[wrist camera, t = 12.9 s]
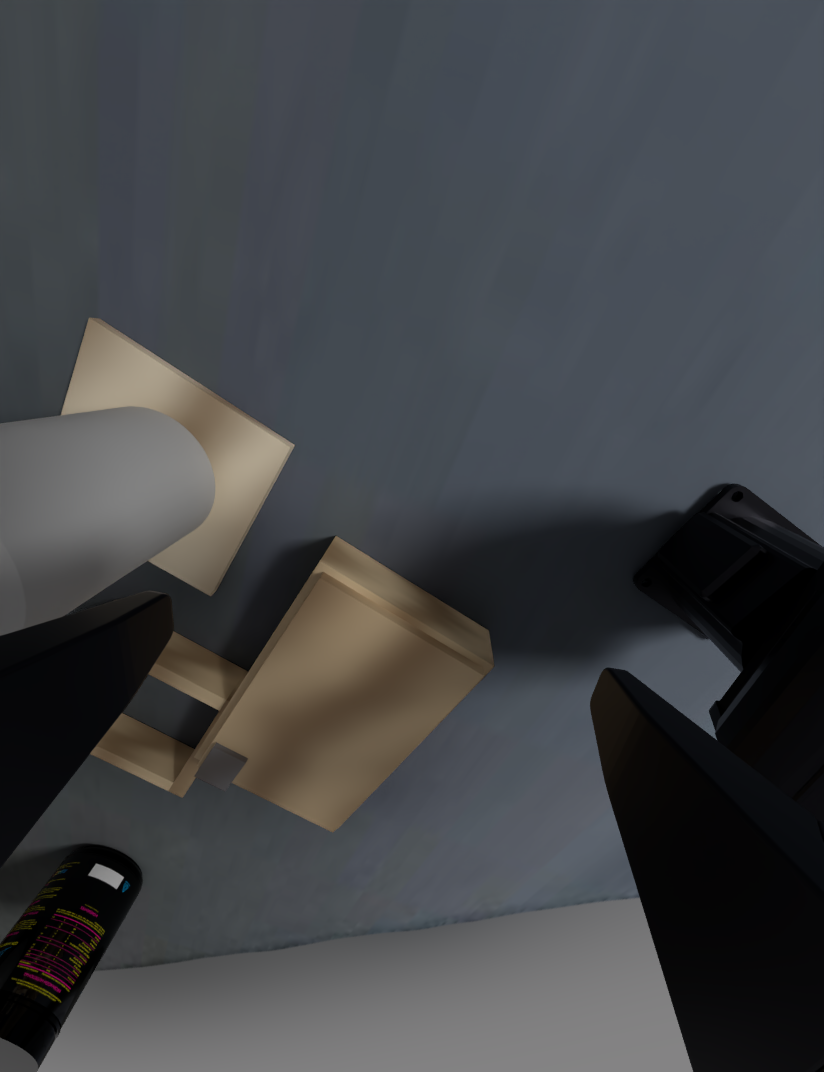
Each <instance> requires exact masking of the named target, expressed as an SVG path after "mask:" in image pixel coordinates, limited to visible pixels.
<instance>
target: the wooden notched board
mask: <svg viewBox="0 0 824 1072" xmlns="http://www.w3.org/2000/svg"><path fill="white" fill-rule="evenodd" d="M114 601H115V600H114ZM493 667H494V660H493V654H492V647H491V641H490V635H489V630H487V629H485V628H484V627H482V626H481V625H479V624H477V623H476V622H474V621H472V620H471V619H469V618H468V617H466V616H464V615H463V614H461V613H460V612H458V611H456V610H455V609H453V608H452V607H450V606H448V605H447V604H445V603H443V602H442V601H440V600H439V599H437V598H435V597H434V596H432V595H431V594H429V593H427V592H426V591H424V590H422V589H421V588H419V587H418V586H416V585H414V584H413V583H411V582H410V581H408V580H406V579H405V578H403V577H401V576H400V575H398V574H397V573H395V572H393V571H392V570H390V569H389V568H387V567H385V566H384V565H382V564H381V563H379V562H377V561H376V560H374V559H372V558H371V557H369V556H368V555H366V554H364V553H363V552H361V551H360V550H358V549H356V548H355V547H353V546H351V545H350V544H348V543H347V542H345V541H343V540H342V539H340V538H339V537H337V536H335V538H334V540H333V541H332V543H331V544H330V546H329V547H328V549H327V550H326V552H325V554H324V555H323V557H322V558H321V560H320V561H319V563H318V564H317V566H316V568H315V569H314V571H313V572H312V574H311V575H310V577H309V578H308V580H307V582H306V583H305V585H304V586H303V588H302V589H301V591H300V592H299V594H298V596H297V597H296V599H295V600H294V602H293V603H292V605H291V606H290V608H289V610H288V611H287V613H286V614H285V616H284V617H283V619H282V620H281V622H280V624H279V625H278V627H277V628H276V630H275V631H274V633H273V634H272V636H271V638H270V639H269V641H268V642H267V644H266V645H265V647H264V648H263V650H262V652H261V653H260V655H259V656H258V658H257V659H256V661H255V662H254V664H253V666H252V667H251V669H250V670H249V672H248V671H246V670H244V669H242V668H241V667H239V666H237V665H235V664H233V663H231V662H229V661H228V660H226V659H224V658H222V657H220V656H218V655H217V654H215V653H213V652H211V651H209V650H207V649H205V648H204V647H202V646H200V645H198V644H196V643H194V642H193V641H191V640H189V639H187V638H185V637H183V636H181V635H180V634H178V633H176V632H174V631H173V634H172V637H171V639H170V640H169V642H168V644H167V645H166V647H165V648H164V650H163V652H162V653H161V655H160V656H159V658H158V659H157V661H156V663H155V664H154V666H153V667H152V669H151V670H150V672H149V675H151V676H153V677H155V678H157V679H159V680H161V681H163V682H165V683H167V684H169V685H171V686H172V687H174V688H176V689H178V690H180V691H182V692H184V693H186V694H188V695H190V696H192V697H194V698H196V699H197V700H199V701H201V702H203V703H205V704H207V705H209V706H211V707H213V708H215V709H217V710H219V712H218V714H217V715H216V717H215V719H214V720H213V722H212V723H211V725H210V726H209V728H208V730H207V731H206V733H205V734H204V736H203V737H202V739H201V740H200V742H199V744H198V745H197V747H196V748H195V749H193V748H191V747H189V746H187V745H185V744H183V743H181V742H179V741H177V740H175V739H173V738H171V737H169V736H167V735H165V734H163V733H161V732H159V731H157V730H155V729H153V728H151V727H149V726H147V725H145V724H143V723H141V722H139V721H137V720H135V719H133V718H131V717H129V716H127V715H125V714H123V713H121V715H120V716H119V717H118V719H117V720H116V721H115V722H114V724H113V725H112V726H111V728H110V729H109V730H108V731H107V733H106V734H105V735H104V736H103V738H102V739H101V740H100V742H99V743H98V744H97V745H96V747H95V748H94V749H93V751H92V752H91V753H90V754H92V755H94V756H96V757H98V758H100V759H102V760H104V761H106V762H108V763H110V764H113V765H115V766H117V767H119V768H121V769H123V770H125V771H127V772H129V773H131V774H133V775H136V776H138V777H140V778H142V779H144V780H146V781H148V782H150V783H152V784H154V785H157V786H159V787H161V788H163V789H165V790H167V791H169V792H171V793H173V794H175V795H178V796H180V797H182V798H183V796H184V795H185V793H186V792H187V790H188V789H189V787H190V786H191V784H192V783H193V781H194V780H195V778H198V779H200V780H202V781H204V782H206V783H208V784H210V785H213V786H215V787H217V788H219V789H221V790H223V791H226V790H227V788H228V787H229V785H230V784H231V783H233V784H235V785H237V786H239V787H241V788H243V789H246V790H248V791H250V792H252V793H254V794H256V795H258V796H260V797H262V798H264V799H266V800H268V801H270V802H272V803H274V804H276V805H278V806H280V807H282V808H284V809H286V810H288V811H290V812H292V813H294V814H296V815H298V816H300V817H302V818H304V819H306V820H308V821H311V822H313V823H315V824H317V825H319V826H321V827H323V828H325V829H327V830H329V831H331V832H334V831H335V830H336V829H337V828H339V827H340V826H341V825H342V824H343V823H344V822H345V821H346V820H347V819H348V817H349V816H350V815H351V814H352V813H353V812H354V811H355V810H356V809H357V808H358V807H359V806H360V805H361V804H362V803H363V802H364V801H365V800H366V799H367V798H368V797H369V796H370V795H371V794H372V793H373V792H374V791H375V790H376V789H377V787H378V786H379V785H380V784H381V783H382V782H383V781H384V780H385V779H386V778H387V777H388V776H389V775H390V774H391V773H392V772H393V771H394V770H395V769H396V768H397V767H398V766H399V765H400V764H401V763H402V762H403V761H404V760H405V758H406V757H407V756H408V755H409V754H410V753H411V752H412V751H413V750H414V749H415V748H416V747H417V746H418V745H419V744H420V743H421V742H422V741H423V740H424V739H425V738H426V737H427V736H428V735H429V734H430V733H431V732H432V731H433V730H434V728H435V727H436V726H437V725H438V724H439V723H440V722H441V721H442V720H443V719H444V718H445V717H446V716H447V715H448V714H449V713H450V712H451V711H452V710H453V709H454V708H455V707H456V706H457V705H458V704H459V703H460V702H461V701H462V699H463V698H464V697H465V696H466V695H467V694H468V693H469V692H470V691H471V690H472V689H473V688H474V687H475V686H476V685H477V684H478V683H479V682H480V681H481V680H482V679H483V678H484V677H485V676H486V675H487V674H488V673H489V672H490V671H491V669H492V668H493Z"/></svg>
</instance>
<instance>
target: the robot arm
mask: <svg viewBox="0 0 824 1072" xmlns="http://www.w3.org/2000/svg"><path fill="white" fill-rule="evenodd" d="M737 491H738V495H737V496H736V497H735V498H734V499H731V496H732V495H733V493H735V492H737ZM646 578H648V581H647V582H646V583H641V582H642V581H643V580H644V579H646ZM633 582H634V584H635V586H636V587H637V588H638V589H639V590H640V591H642V592H643V593H645V594H646V595H648V596H649V597H650V598H652V599H653V600H655V601H656V602H658V603H659V604H661V605H662V606H664V607H665V608H667V609H668V610H669V611H671V612H672V613H674V614H675V615H677V616H678V617H680V618H681V619H683V620H684V621H685V622H687V623H688V624H690V625H691V626H693V627H694V628H696V629H697V630H699V631H700V632H702V633H703V634H704V635H706V636H707V637H708V638H709V639H710V640H711V641H712V642H713V643H714V644H715V645H716V646H717V647H718V648H719V649H720V651H721V652H722V653H723V654H724V655H725V656H726V657H727V658H728V659H729V660H730V661H731V662H732V663H733V664H734V665H735V666H736V668H737V669H738V670H739V671H740V672H741V673H740V675H739V676H738V677H737V679H736V680H735V681H734V683H733V684H732V685H731V687H730V688H729V689H728V691H727V692H726V693H725V695H724V696H723V697H722V699H721V700H720V701H715V703H714V704H713V706H712V707H711V708H710V710H709V713H710V716H711V719H712V722H713V725H714V728H715V731H716V732H715V735H716V738H717V740H716V739H714V738H713V737H712V736H711V735H709V734H708V733H707V732H705V731H704V730H703V729H702V728H700V727H699V726H698V725H696V724H695V723H694V722H692V721H691V720H690V719H689V718H687V717H686V716H685V715H683V714H682V713H681V712H680V711H678V710H677V709H676V708H674V707H673V706H672V705H670V704H669V703H668V702H667V701H665V700H664V699H663V698H661V697H660V696H659V695H658V694H656V693H655V692H654V691H652V690H651V689H650V688H648V687H647V686H646V685H645V684H643V683H642V682H641V681H639V680H638V679H637V678H636V677H634V676H633V675H632V674H630V673H629V672H628V671H625V670H620V669H614V668H605V669H604V670H603V671H602V673H601V675H600V677H599V680H598V682H597V685H596V687H595V690H594V692H593V694H592V697H591V701H590V709H591V715H592V720H593V725H594V730H595V735H596V740H597V745H598V751H599V756H600V761H601V766H602V771H603V775H604V780H605V784H606V788H607V791H608V795H609V798H610V801H611V805H612V808H613V811H614V815H615V818H616V821H617V824H618V828H619V831H620V834H621V837H622V841H623V844H624V847H625V850H626V854H627V857H628V860H629V864H630V867H631V870H632V873H633V877H634V880H635V883H636V886H637V890H638V893H639V896H640V899H641V902H642V906H643V909H644V913H645V916H646V919H647V922H648V926H649V928H650V932H651V935H652V939H653V942H654V945H655V948H656V952H657V955H658V958H659V961H660V965H661V968H662V971H663V975H664V978H665V981H666V984H667V987H668V991H669V994H670V997H671V1001H672V1004H673V1007H674V1010H675V1014H676V1017H677V1020H678V1024H679V1027H680V1030H681V1033H682V1037H683V1040H684V1043H685V1046H686V1050H687V1053H688V1056H689V1059H690V1063H691V1066H692V1069H693V1072H824V547H822V546H821V545H819V544H818V543H817V542H816V541H814V540H813V539H812V538H810V537H809V536H808V535H807V534H805V533H804V532H803V531H801V530H800V529H799V528H797V527H796V526H795V525H794V524H792V523H791V522H790V521H788V520H787V519H786V518H785V517H783V516H782V515H781V514H779V513H778V512H777V511H776V510H774V509H773V508H772V507H770V506H769V505H768V504H767V503H765V502H764V501H763V500H761V499H760V498H759V497H758V496H756V495H755V494H754V493H752V492H751V491H750V490H749V489H747V488H746V487H743V486H741V485H739V484H730V485H728V486H726V487H725V488H724V489H723V490H722V491H721V492H720V493H719V494H718V495H717V496H716V497H715V498H713V499H712V500H711V501H710V502H709V503H708V504H707V505H706V506H705V507H704V508H703V509H702V510H701V511H700V512H699V513H697V514H696V515H695V516H693V517H692V518H691V519H690V520H689V521H688V522H687V523H686V524H685V525H684V526H683V527H682V528H681V529H680V530H679V531H678V532H677V533H676V534H675V535H674V536H673V537H672V538H671V539H670V540H669V541H668V542H667V543H666V544H665V545H664V546H663V547H662V548H661V549H660V550H659V551H658V553H657V554H656V555H655V556H654V557H653V558H652V559H651V560H650V561H649V562H648V563H647V564H646V565H645V566H644V567H643V568H642V569H640V570H639V571H638V572H637V573H636V575H635V576H634V578H633ZM173 630H174V622H173V612H172V601H171V598H170V596H169V595H168V594H166V593H161V592H155V591H144V592H141V593H138V594H135V595H131V596H128V597H125V598H122V599H118V600H115V601H112V602H108V603H105V604H102V605H99V606H95V607H92V608H89V609H86V610H82V611H79V612H76V613H73V614H69V615H66V616H63V617H60V618H56V619H53V620H50V621H47V622H43V623H40V624H37V625H34V626H30V627H27V628H24V629H21V630H17V631H14V632H11V633H8V634H4V635H1V636H0V868H1V867H2V866H3V864H4V863H5V862H6V860H7V859H8V858H9V857H10V855H11V854H12V853H13V851H14V850H15V849H16V848H17V846H18V845H19V844H20V843H21V841H22V840H23V839H24V837H25V836H26V835H27V834H28V832H29V831H30V830H31V828H32V827H33V826H34V825H35V823H36V822H37V821H38V820H39V818H40V817H41V816H42V814H43V813H44V812H45V811H46V809H47V808H48V807H49V805H50V804H51V803H52V802H53V800H54V799H55V798H56V797H57V795H58V794H59V793H60V791H61V790H62V789H63V788H64V786H65V785H66V784H67V782H68V781H69V780H70V779H71V777H72V776H73V775H74V774H75V772H76V771H77V770H78V768H79V767H80V766H81V765H82V763H83V762H84V761H85V759H86V758H87V757H88V756H89V754H90V753H91V752H92V751H93V749H94V748H95V747H96V745H97V744H98V743H99V742H100V740H101V739H102V738H103V736H104V735H105V734H106V733H107V731H108V730H109V729H110V728H111V726H112V725H113V724H114V722H115V721H116V720H117V719H118V717H119V716H120V715H121V713H122V712H123V711H124V709H125V708H126V707H127V705H128V704H129V703H130V701H131V700H132V698H133V697H134V695H135V694H136V692H137V691H138V689H139V688H140V686H141V685H142V683H143V681H144V680H145V678H146V677H147V675H148V674H149V672H150V670H151V669H152V667H153V666H154V664H155V663H156V661H157V659H158V658H159V656H160V655H161V653H162V652H163V650H164V648H165V647H166V645H167V644H168V642H169V640H170V639H171V637H172V634H173Z"/></svg>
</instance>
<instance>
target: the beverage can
mask: <svg viewBox="0 0 824 1072" xmlns="http://www.w3.org/2000/svg"><path fill="white" fill-rule="evenodd" d="M214 499H215V477H214V472H213V469H212V466H211V463H210V460H209V458H208V456H207V454H206V452H205V451H204V449H203V448H202V446H201V445H200V443H199V442H198V441H197V439H196V438H195V437H194V436H193V435H192V434H191V433H190V432H189V431H188V430H187V429H186V428H185V427H184V426H183V425H181V424H180V423H179V422H177V421H176V420H174V419H173V418H171V417H169V416H167V415H165V414H163V413H161V412H158V411H156V410H152V409H149V408H144V407H135V406H127V407H119V408H112V409H104V410H97V411H90V412H82V413H75V414H67V415H60V416H52V417H45V418H37V419H30V420H23V421H15V422H8V423H0V636H1V635H4V634H8V633H11V632H14V631H17V630H21V629H24V628H27V627H30V626H34V625H37V624H40V623H43V622H47V621H50V620H53V619H56V618H60V617H63V616H64V615H66V614H67V613H69V612H70V611H72V610H74V609H75V608H77V607H78V606H80V605H81V604H83V603H84V602H86V601H87V600H89V599H90V598H92V597H93V596H95V595H96V594H98V593H99V592H101V591H102V590H104V589H105V588H107V587H108V586H110V585H112V584H113V583H115V582H116V581H118V580H119V579H121V578H122V577H124V576H125V575H127V574H128V573H130V572H131V571H133V570H134V569H136V568H137V567H139V566H140V565H142V564H143V563H145V562H147V561H148V560H150V559H151V558H153V557H154V556H156V555H157V554H159V553H160V552H162V551H163V550H165V549H166V548H168V547H169V546H171V545H172V544H174V543H175V542H177V541H178V540H180V539H181V538H183V537H185V536H186V535H188V534H189V533H191V532H192V531H194V530H195V529H196V528H198V527H199V526H200V525H201V524H202V523H203V522H204V521H205V519H206V518H207V517H208V515H209V513H210V511H211V509H212V506H213V503H214Z"/></svg>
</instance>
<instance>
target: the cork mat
mask: <svg viewBox="0 0 824 1072" xmlns="http://www.w3.org/2000/svg"><path fill="white" fill-rule="evenodd" d="M127 406H135V407H144V408H149V409H152V410H156V411H158V412H161V413H163V414H165V415H167V416H169V417H171V418H173V419H174V420H176V421H177V422H179V423H180V424H181V425H183V426H184V427H185V428H186V429H187V430H188V431H189V432H190V433H191V434H192V435H193V436H194V437H195V438H196V439H197V441H198V442H199V443H200V445H201V446H202V448H203V449H204V451H205V452H206V454H207V456H208V458H209V460H210V463H211V466H212V469H213V472H214V477H215V499H214V503H213V506H212V509H211V511H210V513H209V515H208V517H207V518H206V519H205V521H204V522H203V523H202V524H201V525H200V526H199V527H198V528H196V529H195V530H194V531H192V532H191V533H189V534H188V535H186V536H185V537H183V538H181V539H180V540H178V541H177V542H175V543H174V544H172V545H171V546H169V547H168V548H166V549H165V550H163V551H162V552H160V553H159V554H157V555H156V556H154V557H153V558H151V559H150V560H148V561H149V562H151V563H152V564H154V565H156V566H158V567H159V568H161V569H163V570H165V571H167V572H168V573H170V574H172V575H174V576H175V577H177V578H179V579H181V580H182V581H184V582H186V583H188V584H190V585H191V586H193V587H195V588H197V589H198V590H200V591H202V592H204V593H206V594H207V595H209V596H212V595H213V594H214V593H215V592H216V590H217V588H218V587H219V585H220V583H221V581H222V579H223V577H224V575H225V574H226V572H227V570H228V568H229V566H230V564H231V562H232V561H233V559H234V557H235V555H236V553H237V551H238V550H239V548H240V546H241V544H242V542H243V540H244V538H245V537H246V535H247V533H248V531H249V529H250V527H251V526H252V524H253V522H254V520H255V518H256V516H257V514H258V513H259V511H260V509H261V507H262V505H263V503H264V501H265V500H266V498H267V496H268V494H269V492H270V490H271V489H272V487H273V485H274V483H275V481H276V479H277V477H278V476H279V474H280V472H281V470H282V468H283V466H284V465H285V463H286V461H287V459H288V457H289V455H290V453H291V452H292V450H293V448H294V446H295V445H294V444H292V443H291V442H289V441H288V440H286V439H285V438H283V437H281V436H280V435H278V434H277V433H275V432H274V431H272V430H271V429H269V428H268V427H266V426H264V425H263V424H261V423H260V422H258V421H257V420H255V419H254V418H252V417H251V416H249V415H247V414H246V413H244V412H243V411H241V410H240V409H238V408H237V407H235V406H234V405H232V404H230V403H229V402H227V401H226V400H224V399H223V398H221V397H220V396H218V395H217V394H215V393H213V392H212V391H210V390H209V389H207V388H206V387H204V386H203V385H201V384H200V383H198V382H196V381H195V380H193V379H192V378H190V377H189V376H187V375H186V374H184V373H183V372H181V371H179V370H178V369H176V368H175V367H173V366H172V365H170V364H169V363H167V362H166V361H164V360H162V359H161V358H159V357H158V356H156V355H155V354H153V353H152V352H150V351H149V350H147V349H145V348H144V347H142V346H141V345H139V344H138V343H136V342H135V341H133V340H132V339H130V338H128V337H127V336H125V335H124V334H122V333H121V332H119V331H118V330H116V329H115V328H113V327H111V326H110V325H108V324H107V323H105V322H104V321H102V320H101V319H97V318H89V320H88V324H87V327H86V330H85V334H84V337H83V341H82V344H81V348H80V351H79V354H78V358H77V361H76V365H75V368H74V372H73V375H72V379H71V382H70V385H69V389H68V392H67V396H66V399H65V403H64V406H63V409H62V413H61V415H67V414H75V413H82V412H90V411H97V410H104V409H112V408H119V407H127Z"/></svg>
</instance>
